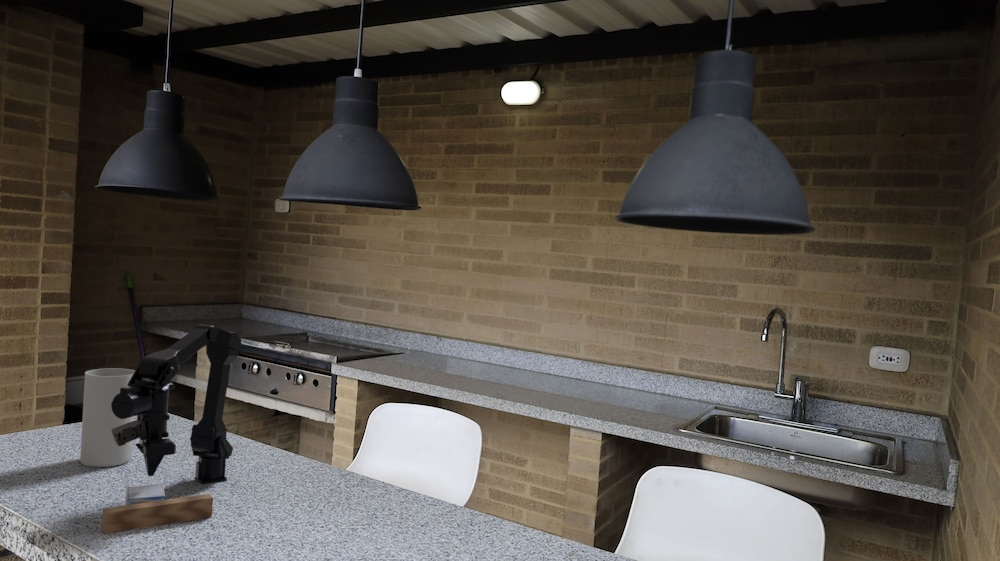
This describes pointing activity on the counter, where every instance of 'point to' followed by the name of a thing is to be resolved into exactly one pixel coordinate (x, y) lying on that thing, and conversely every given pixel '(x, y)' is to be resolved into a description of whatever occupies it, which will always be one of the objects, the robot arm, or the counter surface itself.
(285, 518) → the counter surface
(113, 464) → the cylinder vase
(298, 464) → the counter surface
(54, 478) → the counter surface
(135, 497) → the medicine box
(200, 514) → the brown wooden block
